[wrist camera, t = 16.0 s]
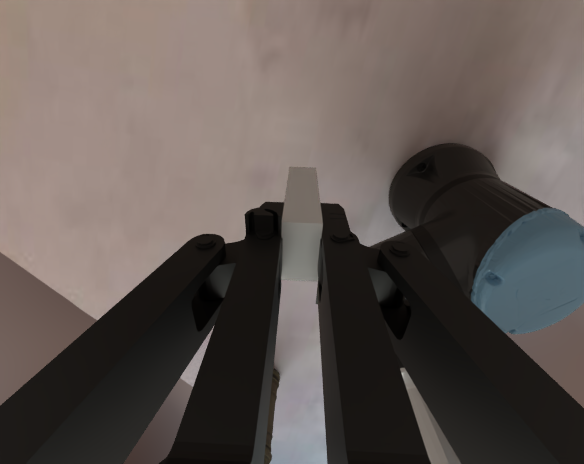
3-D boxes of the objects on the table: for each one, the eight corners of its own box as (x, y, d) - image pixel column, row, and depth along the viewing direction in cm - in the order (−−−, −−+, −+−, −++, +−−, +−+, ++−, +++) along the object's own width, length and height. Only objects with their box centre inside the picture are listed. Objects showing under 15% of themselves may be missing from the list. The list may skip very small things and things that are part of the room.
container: (285, 372, 70) (280, 457, 55) (269, 388, 74) (260, 472, 59) (254, 360, 68) (240, 446, 53) (239, 378, 72) (222, 461, 57)
